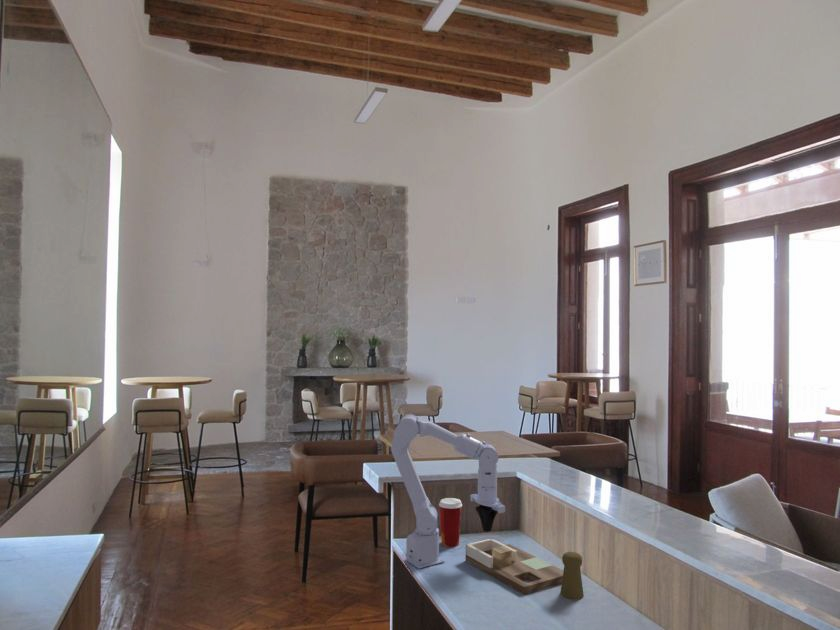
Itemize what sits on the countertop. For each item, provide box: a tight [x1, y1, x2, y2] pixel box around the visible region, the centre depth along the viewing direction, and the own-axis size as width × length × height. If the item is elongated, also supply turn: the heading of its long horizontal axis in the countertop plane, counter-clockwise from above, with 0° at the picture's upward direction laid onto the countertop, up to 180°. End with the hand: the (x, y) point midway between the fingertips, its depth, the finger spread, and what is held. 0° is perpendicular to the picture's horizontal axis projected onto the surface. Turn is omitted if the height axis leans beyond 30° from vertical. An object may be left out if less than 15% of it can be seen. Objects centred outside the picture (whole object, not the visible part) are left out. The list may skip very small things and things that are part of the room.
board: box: [465, 543, 564, 595], centre depth 180 cm, size 17×26×2 cm, turn 32°
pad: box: [520, 556, 552, 570], centre depth 181 cm, size 6×7×2 cm
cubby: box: [465, 538, 517, 568], centre depth 185 cm, size 10×12×3 cm
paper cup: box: [438, 497, 463, 548], centre depth 201 cm, size 8×8×14 cm
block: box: [492, 546, 512, 567], centre depth 181 cm, size 4×4×4 cm
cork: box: [559, 551, 585, 601], centre depth 165 cm, size 6×6×11 cm
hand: (487, 530), depth 187 cm, fingers closed
